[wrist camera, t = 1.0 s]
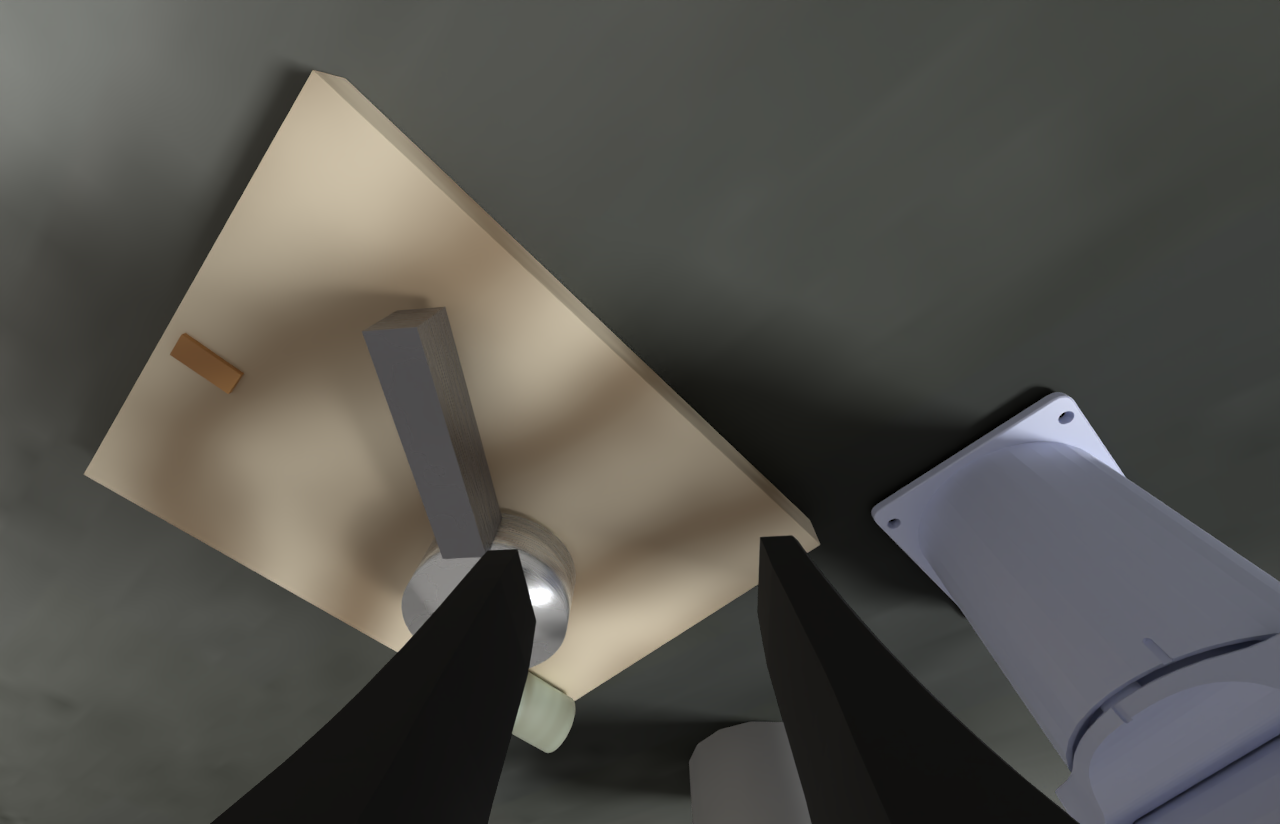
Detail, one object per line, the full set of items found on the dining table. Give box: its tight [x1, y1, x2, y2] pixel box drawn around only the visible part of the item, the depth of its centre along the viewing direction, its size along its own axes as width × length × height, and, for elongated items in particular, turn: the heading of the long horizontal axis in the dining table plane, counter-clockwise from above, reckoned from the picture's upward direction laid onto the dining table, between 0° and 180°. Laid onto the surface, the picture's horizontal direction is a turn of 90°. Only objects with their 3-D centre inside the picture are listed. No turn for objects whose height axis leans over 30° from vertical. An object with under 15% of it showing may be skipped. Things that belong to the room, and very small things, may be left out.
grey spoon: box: [362, 307, 576, 668], centre depth 17 cm, size 14×6×2 cm, turn 5°
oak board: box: [84, 70, 820, 753], centre depth 19 cm, size 22×18×4 cm
